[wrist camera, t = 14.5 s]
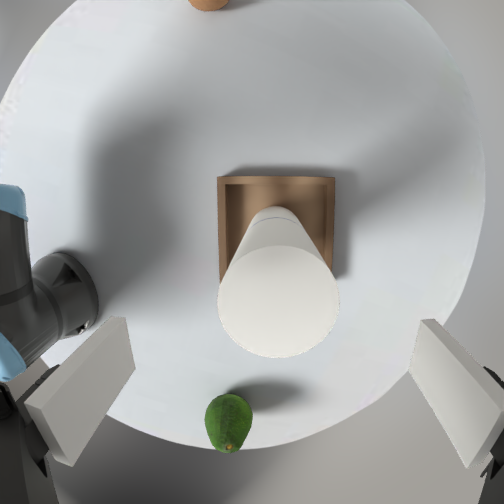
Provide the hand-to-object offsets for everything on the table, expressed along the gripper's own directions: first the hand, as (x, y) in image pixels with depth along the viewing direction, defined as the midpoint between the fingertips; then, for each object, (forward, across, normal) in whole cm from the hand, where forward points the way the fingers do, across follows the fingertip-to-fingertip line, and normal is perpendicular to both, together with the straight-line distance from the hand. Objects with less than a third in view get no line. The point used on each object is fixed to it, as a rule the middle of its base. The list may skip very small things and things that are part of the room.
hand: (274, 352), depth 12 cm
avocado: (+31, -6, -30) cm, 44 cm away
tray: (+31, +1, 0) cm, 31 cm away
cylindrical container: (+30, +1, 0) cm, 31 cm away
